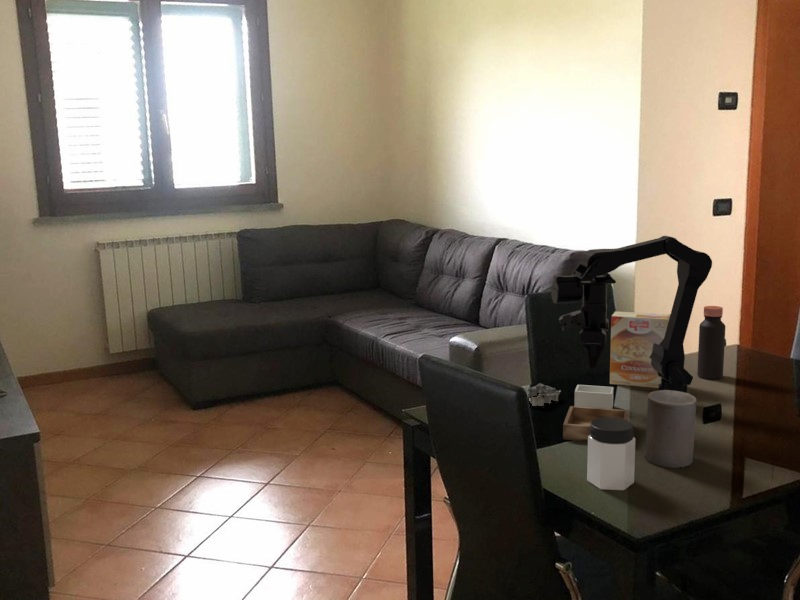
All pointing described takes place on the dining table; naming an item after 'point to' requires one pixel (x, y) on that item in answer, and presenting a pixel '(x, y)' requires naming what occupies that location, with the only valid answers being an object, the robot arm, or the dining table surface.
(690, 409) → the pillar candle
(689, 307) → the robot arm
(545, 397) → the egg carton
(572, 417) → the walnut crate
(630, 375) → the coffeecake box
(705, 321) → the bottle
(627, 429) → the jar
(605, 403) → the grey crate
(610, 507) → the dining table surface
